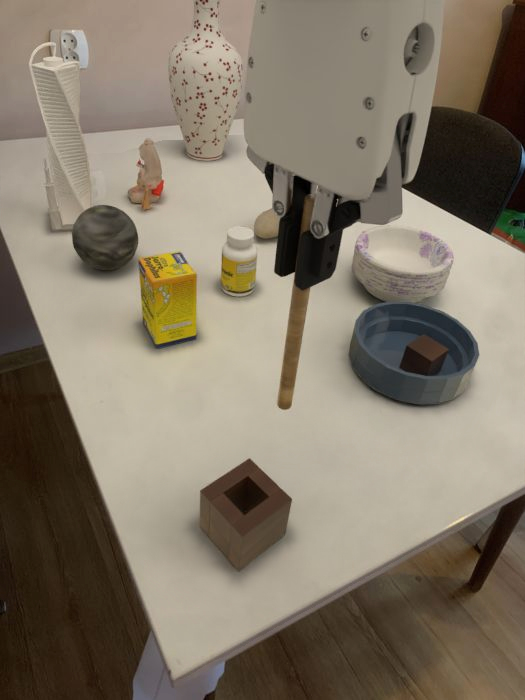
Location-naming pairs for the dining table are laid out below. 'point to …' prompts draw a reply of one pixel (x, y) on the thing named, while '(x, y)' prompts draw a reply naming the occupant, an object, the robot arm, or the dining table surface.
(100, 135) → the dining table surface
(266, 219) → the stone
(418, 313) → the stir bowl
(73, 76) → the skyscraper
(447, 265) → the paper bowls
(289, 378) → the bamboo stick
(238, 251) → the supplement bottle
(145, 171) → the figurine
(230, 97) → the vase
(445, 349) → the walnut cube
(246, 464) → the stick holder
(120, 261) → the decorative stone
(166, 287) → the supplement box
